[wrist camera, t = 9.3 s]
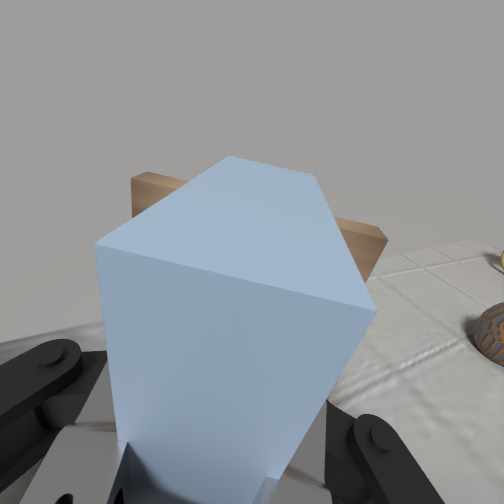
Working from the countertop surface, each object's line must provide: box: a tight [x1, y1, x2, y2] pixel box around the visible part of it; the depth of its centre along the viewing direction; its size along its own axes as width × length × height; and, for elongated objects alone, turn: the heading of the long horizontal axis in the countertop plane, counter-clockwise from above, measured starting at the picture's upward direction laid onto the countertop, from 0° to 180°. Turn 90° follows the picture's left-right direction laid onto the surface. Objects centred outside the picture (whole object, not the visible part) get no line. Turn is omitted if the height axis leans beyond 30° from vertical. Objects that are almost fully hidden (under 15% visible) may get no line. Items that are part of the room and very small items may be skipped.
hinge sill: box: [131, 172, 388, 283], centre depth 12 cm, size 12×12×17 cm
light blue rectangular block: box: [94, 156, 378, 504], centre depth 9 cm, size 3×7×13 cm, turn 173°
